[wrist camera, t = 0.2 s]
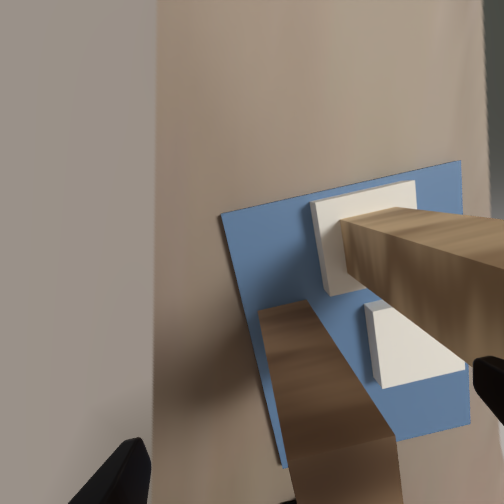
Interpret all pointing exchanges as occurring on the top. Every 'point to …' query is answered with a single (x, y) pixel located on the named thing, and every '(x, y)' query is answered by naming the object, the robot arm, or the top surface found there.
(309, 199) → the mat
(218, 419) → the top surface
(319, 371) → the walnut pillar
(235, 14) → the top surface
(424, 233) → the oak pillar
